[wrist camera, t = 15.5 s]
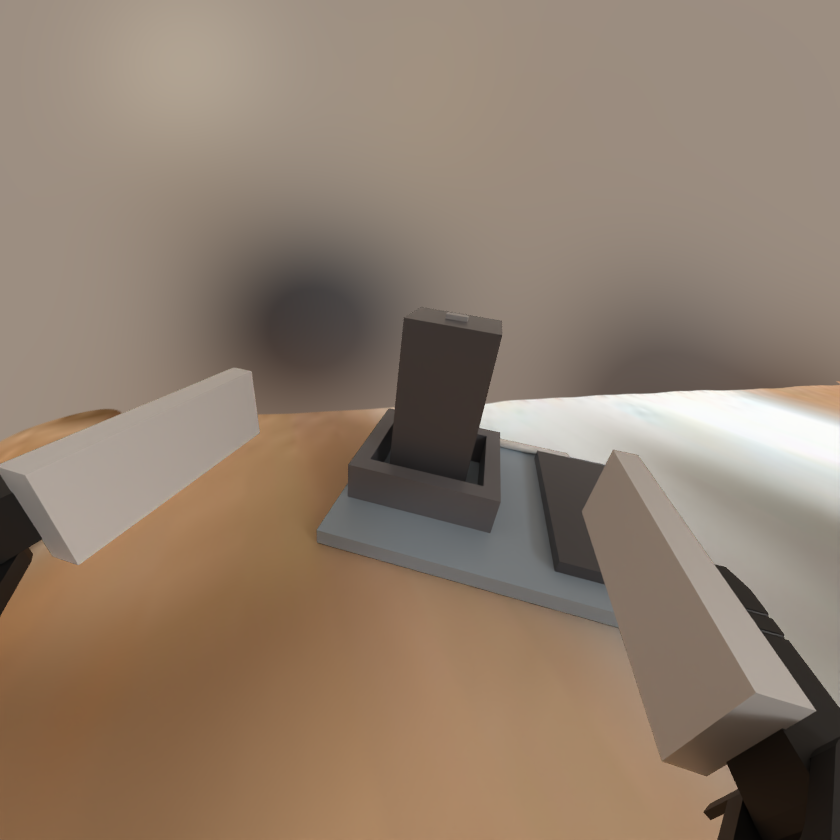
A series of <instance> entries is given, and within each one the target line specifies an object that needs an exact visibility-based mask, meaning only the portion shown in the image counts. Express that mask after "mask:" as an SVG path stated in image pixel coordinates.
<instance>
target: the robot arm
mask: <svg viewBox="0 0 840 840" xmlns="http://www.w3.org/2000/svg"><path fill="white" fill-rule="evenodd" d="M259 433H260V430H259V423H258V415H257V408H256V401H255V393H254V386H253V378H252V371H248V370H243V369H239V368H231V369H229V370H227V371H224V372H222V373H219V374H217V375H214V376H212V377H209V378H207V379H205V380H202V381H200V382H197V383H195V384H192V385H190V386H188V387H185V388H183V389H180V390H178V391H176V392H173V393H171V394H168V395H166V396H164V397H161V398H158V399H156V400H154V401H151V402H149V403H146V404H144V405H142V406H140V407H137V408H134V409H132V410H129V411H127V412H125V413H122V414H120V415H117V416H115V417H112V418H110V419H108V420H105V421H103V422H100V423H98V424H96V425H93V426H91V427H88V428H86V429H83V430H81V431H79V432H76V433H74V434H71V435H69V436H66V437H64V438H62V439H59V440H57V441H54V442H52V443H50V444H47V445H45V446H42V447H40V448H37V449H35V450H33V451H30V452H28V453H25V454H23V455H20V456H18V457H16V458H13V459H11V460H8V461H6V462H4V463H1V464H0V616H1V614H2V612H3V610H4V608H5V607H6V605H7V603H8V601H9V600H10V598H11V596H12V594H13V593H14V591H15V589H16V587H17V586H18V584H19V582H20V580H21V578H22V577H23V575H24V573H25V571H26V570H27V568H28V566H29V564H30V563H31V560H32V556H33V553H32V552H31V551H30V549H29V548H28V547H30V546H32V545H33V544H35V543H37V542H38V541H40V540H41V539H42V541H43V542H44V544H45V545H46V547H47V548H48V550H49V552H50V553H51V555H52V556H53V557H56V558H58V559H61V560H64V561H67V562H70V563H73V564H76V565H80V564H81V563H82V562H84V561H85V560H86V559H88V558H89V557H90V556H92V555H93V554H95V553H96V552H97V551H99V550H100V549H101V548H103V547H104V546H106V545H107V544H108V543H110V542H111V541H112V540H114V539H115V538H116V537H118V536H119V535H121V534H122V533H123V532H125V531H126V530H127V529H129V528H130V527H132V526H133V525H134V524H136V523H137V522H138V521H140V520H141V519H143V518H144V517H145V516H147V515H148V514H149V513H151V512H152V511H153V510H155V509H156V508H158V507H159V506H160V505H162V504H163V503H164V502H166V501H167V500H169V499H170V498H171V497H173V496H174V495H175V494H177V493H178V492H180V491H181V490H182V489H184V488H185V487H186V486H188V485H189V484H190V483H192V482H193V481H195V480H196V479H197V478H199V477H200V476H201V475H203V474H204V473H206V472H207V471H208V470H210V469H211V468H212V467H214V466H215V465H216V464H218V463H219V462H221V461H222V460H223V459H225V458H226V457H227V456H229V455H230V454H232V453H233V452H234V451H236V450H237V449H238V448H240V447H241V446H243V445H244V444H245V443H247V442H248V441H249V440H251V439H252V438H253V437H255V436H256V435H258V434H259ZM582 514H583V517H584V520H585V523H586V526H587V530H588V533H589V536H590V539H591V542H592V545H593V548H594V551H595V555H596V558H597V561H598V564H599V567H600V570H601V573H602V576H603V580H604V583H605V586H606V589H607V592H608V595H609V598H610V601H611V604H612V608H613V611H614V614H615V617H616V620H617V623H618V626H619V629H620V633H621V636H622V639H623V642H624V645H625V648H626V651H627V654H628V657H629V661H630V664H631V667H632V670H633V673H634V676H635V679H636V682H637V686H638V689H639V692H640V695H641V698H642V701H643V704H644V707H645V710H646V714H647V717H648V720H649V723H650V726H651V729H652V732H653V735H654V739H655V742H656V745H657V748H658V751H659V754H660V757H661V760H662V761H663V762H666V763H669V764H672V765H675V766H678V767H681V768H684V769H687V770H690V771H693V772H696V773H698V774H701V775H704V776H708V775H710V774H711V773H713V772H715V771H716V770H718V769H720V768H722V767H723V766H725V765H728V767H729V769H730V772H731V774H732V776H733V778H734V781H735V783H736V785H737V787H738V789H737V790H735V791H734V792H732V793H730V794H728V795H726V796H724V797H722V798H720V799H718V800H716V801H714V802H712V803H710V804H709V805H708V807H707V808H706V809H705V811H704V813H705V814H706V816H707V817H708V818H709V819H710V820H712V819H714V818H716V817H718V816H720V815H722V814H724V817H723V821H722V825H721V828H720V832H719V836H718V840H840V708H839V707H838V705H837V704H836V703H835V701H834V700H833V699H832V697H831V696H830V695H829V693H828V692H827V691H826V689H825V688H824V687H823V685H822V684H821V683H820V681H819V680H818V679H817V677H816V676H815V675H814V673H813V672H812V671H811V670H810V668H809V667H808V666H807V664H806V663H805V662H804V660H803V659H802V658H801V656H800V655H799V654H798V652H797V651H796V650H795V648H794V647H793V646H792V644H791V643H790V642H789V640H785V639H784V634H783V632H782V631H781V630H780V628H779V627H778V626H777V624H776V623H775V622H774V620H773V619H771V618H769V617H768V612H767V611H766V610H765V608H764V607H763V606H762V604H761V603H760V602H759V600H758V599H757V598H756V596H755V595H754V594H753V592H752V591H751V590H750V589H749V588H748V587H747V586H746V585H745V584H744V583H743V582H741V581H740V580H739V579H738V578H737V577H736V576H735V575H734V574H733V573H732V572H730V571H729V570H728V569H727V568H726V567H723V566H719V565H715V564H714V563H713V562H712V560H711V559H710V558H709V556H708V555H707V553H706V552H705V550H704V549H703V547H702V546H701V545H700V543H699V542H698V540H697V539H696V537H695V536H694V535H693V533H692V532H691V530H690V529H689V527H688V526H687V525H686V523H685V522H684V520H683V519H682V517H681V516H680V515H679V513H678V512H677V510H676V509H675V507H674V506H673V504H672V503H671V502H670V500H669V499H668V497H667V496H666V494H665V493H664V492H663V490H662V489H661V487H660V486H659V484H658V483H657V482H656V480H655V479H654V477H653V476H652V474H651V473H650V471H649V470H648V469H647V467H646V466H645V464H644V463H643V461H642V460H641V459H640V457H639V456H638V455H635V454H631V453H626V452H621V451H617V450H613V451H612V453H611V455H610V457H609V459H608V461H607V463H606V465H605V467H604V469H603V471H602V473H601V475H600V477H599V479H598V481H597V483H596V485H595V487H594V489H593V491H592V492H591V494H590V496H589V498H588V500H587V502H586V504H585V506H584V508H583V510H582Z"/></svg>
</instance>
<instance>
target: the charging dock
mask: <svg viewBox="0 0 840 840" xmlns="http://www.w3.org/2000/svg"><path fill="white" fill-rule="evenodd" d="M394 413H395V410H394V409H388V410H387V412H386V413H385V415H384V416H383V417H382V419H381V420H380V421H379V423H378V424H377V426H376V427H375V428H374V430H373V431H372V433H371V434H370V435H369V437H368V438H367V439H366V441H365V442H364V444H363V445H362V446H361V448H360V449H359V451H358V452H357V453H356V455H355V456H354V458H353V459H352V460H351V462H350V463H349V464H348V484H347V485H346V487H345V488H344V490H343V491H342V493H341V494H340V496H339V497H338V499H337V500H336V502H335V503H334V505H333V506H332V508H331V509H330V511H329V512H328V514H327V515H326V517H325V518H324V520H323V521H322V523H321V524H320V526H319V527H318V529H317V543H321V544H324V545H328V546H331V547H335V548H338V549H342V550H345V551H349V552H352V553H356V554H359V555H363V556H367V557H370V558H374V559H377V560H381V561H384V562H388V563H391V564H395V565H398V566H402V567H405V568H409V569H413V570H416V571H420V572H423V573H427V574H430V575H434V576H437V577H441V578H444V579H448V580H451V581H455V582H459V583H462V584H466V585H469V586H473V587H476V588H480V589H483V590H487V591H490V592H494V593H498V594H501V595H505V596H508V597H512V598H515V599H519V600H522V601H526V602H529V603H533V604H536V605H540V606H544V607H547V608H551V609H554V610H558V611H561V612H565V613H568V614H572V615H575V616H579V617H582V618H586V619H590V620H593V621H597V622H600V623H604V624H607V625H611V626H614V627H618V628H619V626H618V623H617V620H616V617H615V614H614V611H613V608H612V604H611V601H610V598H609V595H608V592H607V589H606V586H605V583H604V580H603V576H602V573H601V570H600V567H599V564H598V561H597V558H596V555H595V551H594V548H593V545H592V542H591V539H590V536H589V533H588V530H587V526H586V523H585V520H584V517H583V514H582V510H583V508H584V506H585V504H586V502H587V500H588V498H589V496H590V494H591V492H592V491H593V489H594V487H595V485H596V483H597V481H598V479H599V477H600V475H601V473H602V471H603V469H604V467H605V465H603V464H599V463H594V462H590V461H585V460H580V459H576V458H571V457H569V455H568V454H567V453H563V452H558V451H554V450H549V449H545V448H540V447H536V446H531V445H527V444H522V443H517V442H513V441H508V440H504V439H500V432H495V431H490V430H486V429H481V428H479V429H478V433H477V437H476V441H475V445H474V449H473V453H472V457H471V461H470V465H469V469H468V473H467V477H466V481H465V482H464V481H460V480H455V479H451V478H447V477H443V476H439V475H435V474H430V473H426V472H422V471H418V470H414V469H410V468H405V467H401V466H397V465H393V464H389V463H390V453H391V443H392V433H393V423H394Z"/></svg>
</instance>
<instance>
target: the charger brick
mask: <svg viewBox="0 0 840 840" xmlns="http://www.w3.org/2000/svg"><path fill="white" fill-rule="evenodd" d="M501 338H502V321H500V320H494V319H488V318H482V317H477V316H471V315H464V314H459V313H453V312H447V311H441V310H436V309H430V308H424V307H420V308H418V309H417V310H415V311H414V312H412V313H411V314H409V315H407V316H406V317H404V323H403V332H402V343H401V353H400V363H399V373H398V383H397V393H396V403H395V413H394V423H393V433H392V443H391V453H390V463H389V464H393V465H397V466H401V467H405V468H410V469H414V470H418V471H422V472H426V473H430V474H435V475H439V476H443V477H447V478H451V479H455V480H460V481H464V482H465V481H466V477H467V473H468V469H469V465H470V461H471V457H472V453H473V449H474V445H475V441H476V437H477V433H478V429H479V425H480V421H481V417H482V413H483V409H484V405H485V401H486V397H487V393H488V389H489V385H490V381H491V377H492V373H493V369H494V366H495V361H496V357H497V354H498V349H499V346H500V341H501Z"/></svg>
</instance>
